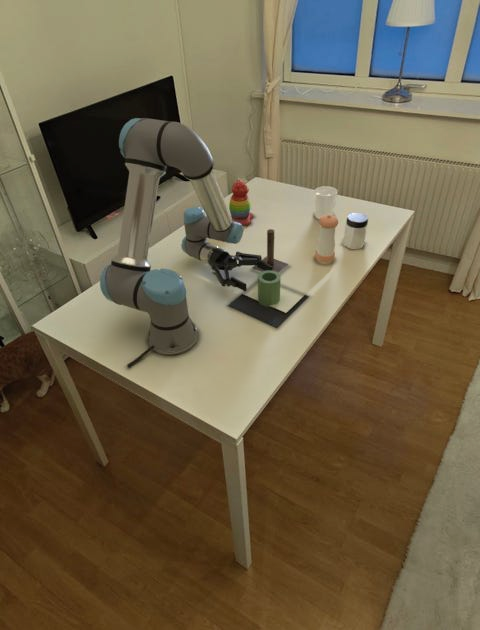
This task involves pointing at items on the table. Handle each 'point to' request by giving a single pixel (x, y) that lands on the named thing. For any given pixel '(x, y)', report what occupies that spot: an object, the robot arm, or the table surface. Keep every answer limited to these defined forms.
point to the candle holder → (325, 201)
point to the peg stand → (271, 254)
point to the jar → (355, 230)
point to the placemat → (263, 310)
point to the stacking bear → (240, 204)
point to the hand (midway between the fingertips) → (259, 278)
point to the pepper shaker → (326, 239)
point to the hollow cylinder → (269, 288)
